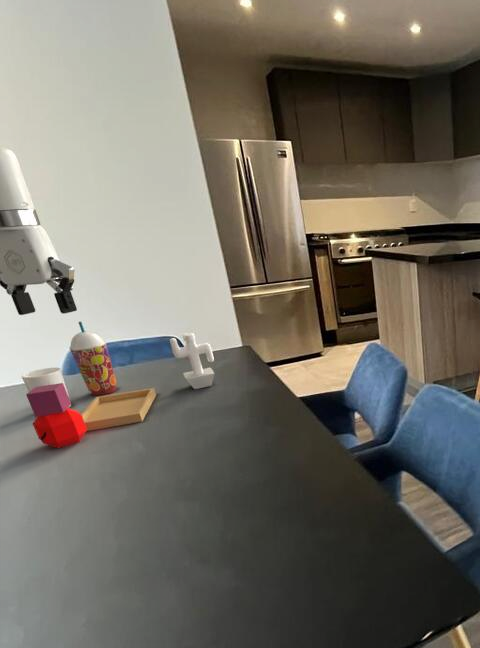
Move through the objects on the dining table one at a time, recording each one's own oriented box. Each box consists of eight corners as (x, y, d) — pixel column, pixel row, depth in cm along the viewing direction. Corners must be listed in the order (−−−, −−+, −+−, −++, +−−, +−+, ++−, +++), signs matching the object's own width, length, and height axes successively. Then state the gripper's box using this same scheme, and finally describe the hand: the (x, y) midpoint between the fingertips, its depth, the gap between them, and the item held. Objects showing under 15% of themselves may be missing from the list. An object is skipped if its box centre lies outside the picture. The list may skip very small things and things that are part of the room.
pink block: (35, 416, 101) (25, 394, 100) (44, 408, 106) (35, 386, 104) (63, 412, 103) (54, 390, 101) (71, 404, 107) (63, 382, 105)
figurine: (222, 384, 138) (208, 332, 132) (185, 392, 133) (169, 339, 128) (217, 378, 144) (204, 328, 138) (182, 386, 139) (167, 334, 133)
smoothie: (81, 394, 138) (55, 324, 130) (113, 385, 144) (90, 317, 136) (94, 399, 133) (68, 326, 125) (127, 389, 139) (103, 319, 132)
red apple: (40, 444, 107) (26, 412, 104) (83, 431, 113) (71, 400, 110) (48, 454, 102) (34, 421, 99) (93, 440, 108) (80, 408, 105)
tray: (75, 433, 112) (72, 424, 111) (98, 404, 129) (95, 397, 128) (142, 421, 116) (139, 413, 115) (156, 395, 133) (154, 387, 132)
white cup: (40, 417, 123) (24, 379, 119) (34, 410, 128) (18, 373, 124) (77, 407, 128) (63, 370, 124) (70, 400, 133) (56, 365, 129)
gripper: (-46, 225, 89) (-7, 318, 96) (35, 219, 87) (69, 315, 93) (-5, 223, 96) (29, 310, 103) (71, 218, 94) (101, 307, 100)
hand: (48, 312), depth 98 cm, fingers open, 9 cm apart
